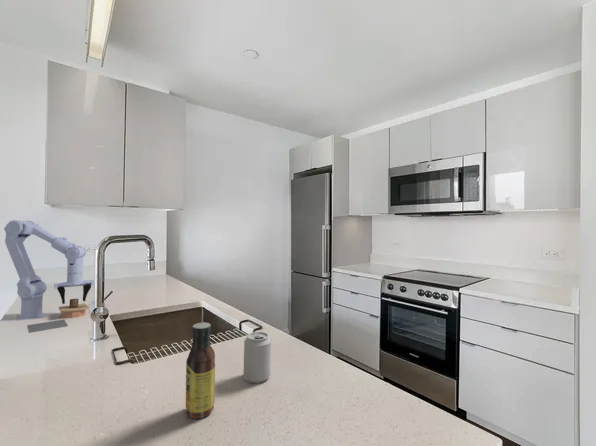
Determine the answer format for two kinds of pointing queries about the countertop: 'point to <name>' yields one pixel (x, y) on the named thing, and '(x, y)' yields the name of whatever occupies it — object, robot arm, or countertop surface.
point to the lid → (73, 306)
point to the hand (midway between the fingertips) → (73, 302)
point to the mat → (46, 326)
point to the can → (257, 357)
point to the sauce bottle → (200, 373)
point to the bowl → (73, 314)
